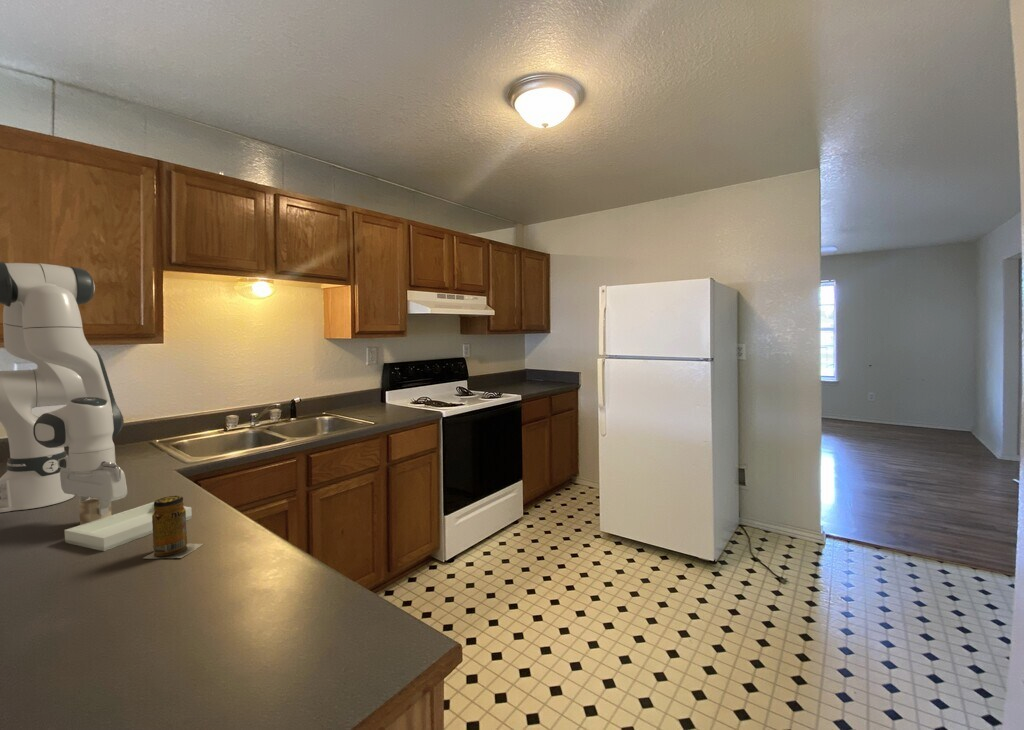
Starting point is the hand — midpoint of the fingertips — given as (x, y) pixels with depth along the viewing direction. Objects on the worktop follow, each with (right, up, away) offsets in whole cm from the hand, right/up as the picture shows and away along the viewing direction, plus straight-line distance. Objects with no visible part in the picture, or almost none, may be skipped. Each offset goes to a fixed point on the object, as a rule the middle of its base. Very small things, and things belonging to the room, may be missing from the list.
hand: (95, 512), depth 119 cm
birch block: (0, -3, 0) cm, 3 cm away
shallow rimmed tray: (+13, -3, -4) cm, 14 cm away
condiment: (+32, -4, -16) cm, 36 cm away
